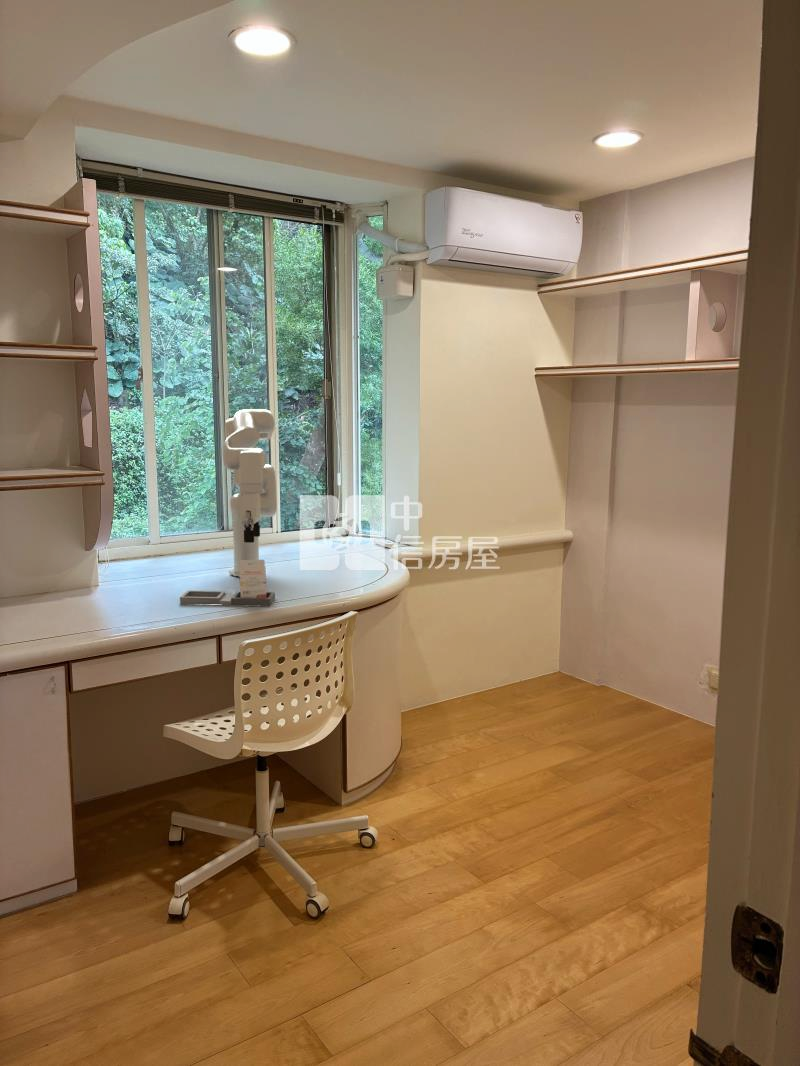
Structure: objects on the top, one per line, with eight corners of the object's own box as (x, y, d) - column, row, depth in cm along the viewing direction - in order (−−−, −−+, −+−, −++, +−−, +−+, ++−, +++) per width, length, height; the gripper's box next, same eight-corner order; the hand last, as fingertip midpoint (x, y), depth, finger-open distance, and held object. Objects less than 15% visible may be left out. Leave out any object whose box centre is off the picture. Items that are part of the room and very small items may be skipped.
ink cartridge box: (266, 598, 270) (266, 556, 268) (266, 602, 266) (265, 559, 263) (241, 599, 269) (240, 557, 267) (240, 603, 264) (239, 560, 262)
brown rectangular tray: (187, 597, 272) (187, 590, 271) (225, 598, 272) (225, 591, 271) (180, 604, 263) (179, 597, 263) (219, 605, 263) (218, 598, 262)
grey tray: (225, 598, 272) (225, 591, 271) (275, 599, 271) (274, 592, 271) (219, 605, 263) (218, 598, 262) (270, 606, 262) (270, 599, 262)
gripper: (245, 484, 269) (246, 534, 272) (233, 491, 252) (235, 544, 255) (267, 485, 269) (268, 534, 272) (257, 492, 252) (258, 545, 255)
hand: (252, 539), depth 263 cm, fingers open, 9 cm apart
